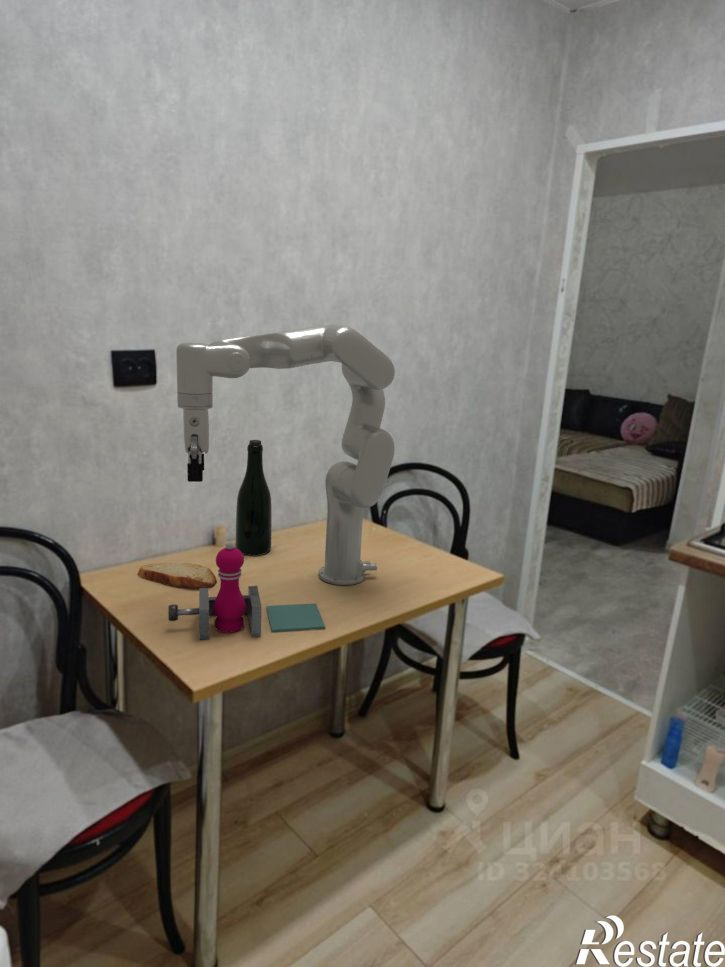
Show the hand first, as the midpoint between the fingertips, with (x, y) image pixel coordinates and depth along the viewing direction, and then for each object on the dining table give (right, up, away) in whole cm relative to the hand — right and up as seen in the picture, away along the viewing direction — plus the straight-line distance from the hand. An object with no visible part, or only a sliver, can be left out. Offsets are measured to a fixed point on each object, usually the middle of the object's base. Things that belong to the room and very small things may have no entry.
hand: (196, 475), depth 146 cm
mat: (+22, -33, +3) cm, 40 cm away
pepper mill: (+8, -34, -2) cm, 35 cm away
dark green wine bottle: (+5, -22, +44) cm, 49 cm away
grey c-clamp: (+5, -33, -2) cm, 34 cm away
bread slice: (-10, -27, +21) cm, 36 cm away
